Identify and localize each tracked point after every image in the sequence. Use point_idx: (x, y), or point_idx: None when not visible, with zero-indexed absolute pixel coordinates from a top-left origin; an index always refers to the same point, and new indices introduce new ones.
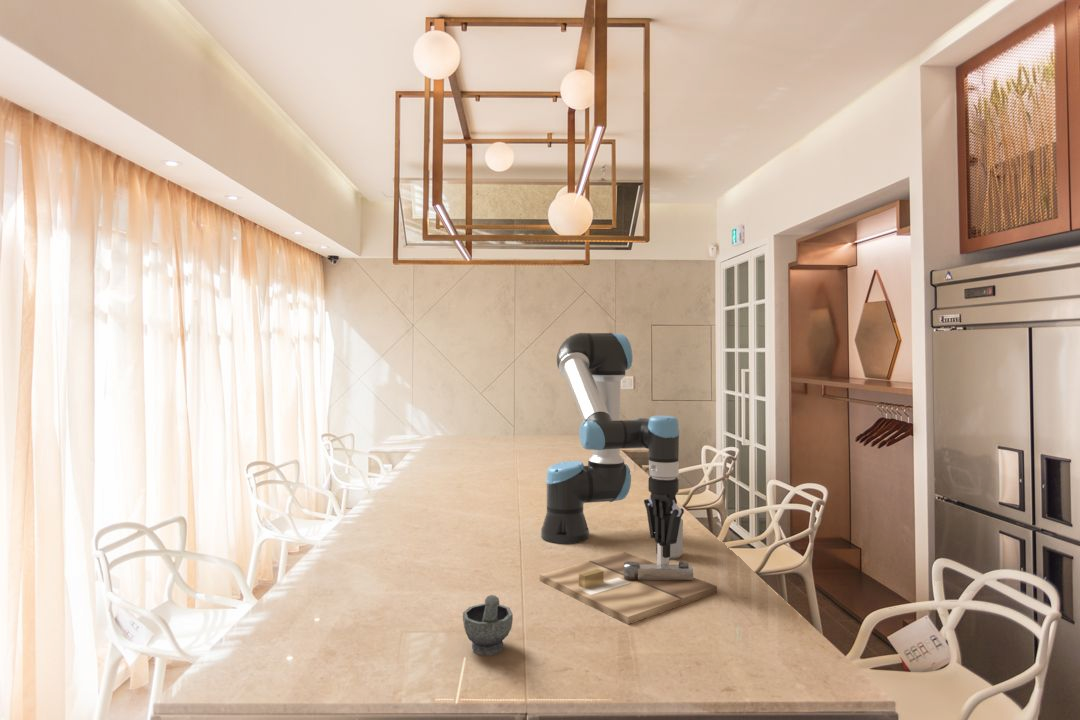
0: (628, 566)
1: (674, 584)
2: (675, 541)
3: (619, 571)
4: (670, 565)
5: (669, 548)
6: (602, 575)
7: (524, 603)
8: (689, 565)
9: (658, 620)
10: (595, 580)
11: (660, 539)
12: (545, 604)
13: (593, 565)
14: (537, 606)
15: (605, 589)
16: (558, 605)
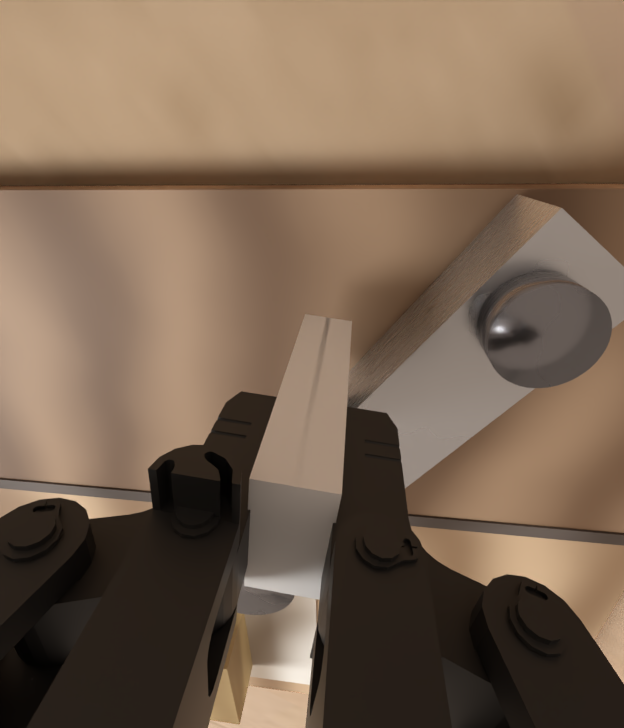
0: (264, 613)
1: (505, 420)
2: (580, 659)
3: (145, 481)
4: (409, 388)
5: (401, 503)
6: (234, 650)
7: (218, 722)
8: (565, 239)
9: (609, 641)
10: (242, 656)
11: (229, 602)
12: (253, 708)
13: (15, 504)
14: (253, 720)
15: (307, 641)
16: (279, 699)
